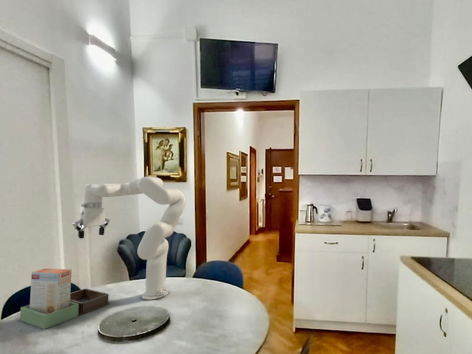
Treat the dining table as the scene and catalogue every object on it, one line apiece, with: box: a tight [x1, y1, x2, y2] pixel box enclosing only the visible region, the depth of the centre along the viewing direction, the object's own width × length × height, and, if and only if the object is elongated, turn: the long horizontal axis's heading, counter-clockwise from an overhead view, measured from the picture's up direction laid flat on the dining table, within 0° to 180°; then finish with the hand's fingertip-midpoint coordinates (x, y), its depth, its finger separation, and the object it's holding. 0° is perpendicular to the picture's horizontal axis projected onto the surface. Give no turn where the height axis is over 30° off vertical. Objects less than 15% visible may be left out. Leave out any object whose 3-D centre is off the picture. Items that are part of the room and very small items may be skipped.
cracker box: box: [29, 268, 72, 315], centre depth 114 cm, size 14×6×21 cm, turn 84°
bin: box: [19, 302, 79, 330], centre depth 114 cm, size 20×12×6 cm, turn 70°
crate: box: [70, 288, 110, 315], centre depth 126 cm, size 20×12×5 cm, turn 70°
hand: (91, 236), depth 139 cm, fingers open, 9 cm apart
